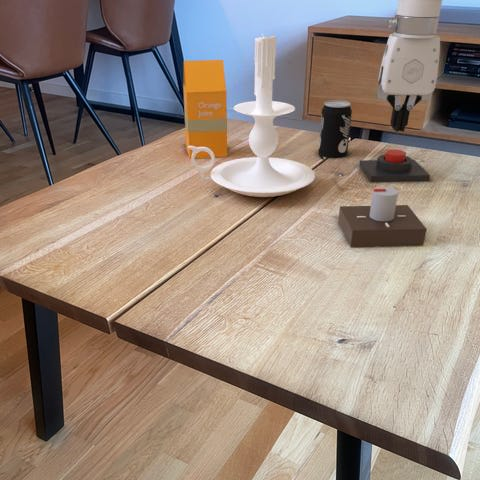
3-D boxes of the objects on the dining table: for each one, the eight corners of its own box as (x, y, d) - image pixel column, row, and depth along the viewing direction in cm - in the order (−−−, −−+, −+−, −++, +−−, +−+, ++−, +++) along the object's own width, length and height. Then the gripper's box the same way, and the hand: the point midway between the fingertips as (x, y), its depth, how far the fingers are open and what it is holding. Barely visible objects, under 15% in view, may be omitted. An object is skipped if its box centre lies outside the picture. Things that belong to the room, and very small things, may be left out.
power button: (401, 157, 116) (402, 149, 115) (407, 163, 113) (408, 155, 112) (382, 157, 116) (383, 149, 115) (387, 164, 113) (389, 155, 112)
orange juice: (186, 148, 133) (181, 57, 122) (222, 146, 134) (221, 56, 123) (189, 159, 127) (185, 64, 116) (227, 156, 128) (226, 62, 117)
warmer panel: (404, 220, 98) (407, 203, 97) (423, 245, 90) (427, 227, 88) (338, 222, 98) (339, 205, 96) (350, 247, 89) (352, 229, 88)
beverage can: (330, 163, 124) (336, 108, 117) (312, 156, 129) (316, 102, 122) (352, 158, 127) (359, 104, 120) (333, 151, 132) (338, 98, 125)
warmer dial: (390, 211, 94) (394, 184, 91) (396, 221, 91) (401, 193, 88) (366, 212, 94) (370, 184, 91) (372, 221, 90) (376, 193, 88)
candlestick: (192, 172, 119) (185, 26, 104) (306, 171, 120) (317, 25, 104) (187, 209, 102) (178, 41, 87) (320, 208, 103) (335, 41, 87)
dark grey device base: (412, 169, 121) (415, 151, 119) (427, 185, 113) (431, 166, 111) (358, 170, 121) (360, 152, 118) (369, 186, 112) (372, 167, 110)
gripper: (380, 29, 97) (365, 134, 108) (463, 30, 98) (440, 135, 109) (370, 24, 104) (356, 124, 114) (448, 25, 104) (427, 124, 115)
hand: (397, 129), depth 111 cm, fingers closed
